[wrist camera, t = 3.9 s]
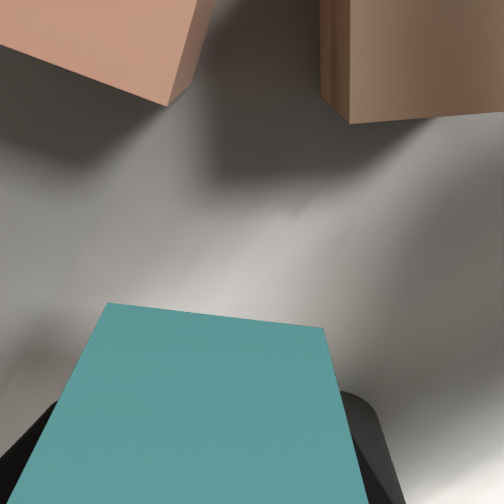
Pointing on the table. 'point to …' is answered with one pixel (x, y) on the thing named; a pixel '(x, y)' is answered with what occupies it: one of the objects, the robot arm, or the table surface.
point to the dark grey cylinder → (372, 443)
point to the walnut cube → (411, 58)
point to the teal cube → (196, 417)
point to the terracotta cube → (114, 40)
